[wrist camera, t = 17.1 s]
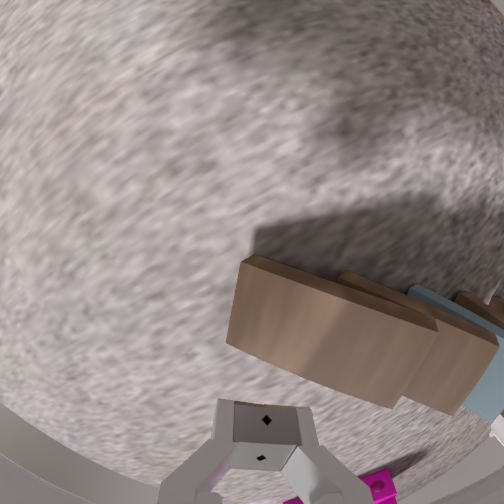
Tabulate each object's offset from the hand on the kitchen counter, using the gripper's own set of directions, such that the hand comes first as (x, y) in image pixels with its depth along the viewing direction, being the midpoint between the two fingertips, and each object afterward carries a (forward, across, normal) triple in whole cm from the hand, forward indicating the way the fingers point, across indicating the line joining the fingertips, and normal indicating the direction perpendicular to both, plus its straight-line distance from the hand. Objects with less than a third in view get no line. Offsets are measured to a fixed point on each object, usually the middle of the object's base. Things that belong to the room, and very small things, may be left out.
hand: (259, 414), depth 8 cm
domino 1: (+8, +1, 0) cm, 8 cm away
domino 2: (+8, -4, 0) cm, 9 cm away
